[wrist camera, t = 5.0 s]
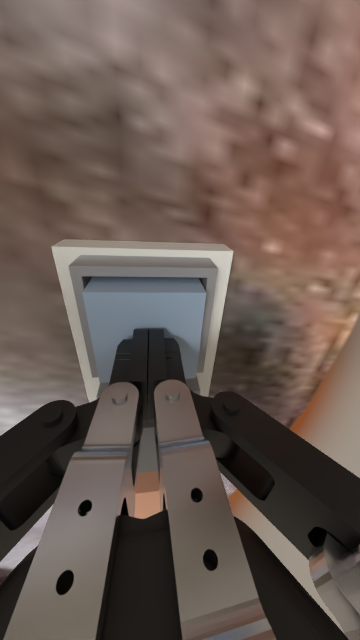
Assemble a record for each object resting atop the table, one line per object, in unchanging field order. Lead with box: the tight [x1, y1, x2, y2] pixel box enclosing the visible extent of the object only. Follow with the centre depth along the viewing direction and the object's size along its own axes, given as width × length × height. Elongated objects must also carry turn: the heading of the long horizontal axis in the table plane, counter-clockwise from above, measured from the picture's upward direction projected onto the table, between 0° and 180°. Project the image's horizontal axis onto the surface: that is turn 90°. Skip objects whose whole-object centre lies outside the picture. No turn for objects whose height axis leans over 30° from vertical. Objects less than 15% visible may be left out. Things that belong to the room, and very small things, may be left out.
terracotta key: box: [134, 471, 161, 519], centre depth 21 cm, size 6×6×2 cm
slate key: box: [82, 276, 206, 383], centre depth 12 cm, size 6×6×2 cm
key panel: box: [51, 239, 233, 403], centre depth 19 cm, size 26×10×4 cm, turn 177°
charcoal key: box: [138, 399, 157, 473], centre depth 16 cm, size 6×6×2 cm
